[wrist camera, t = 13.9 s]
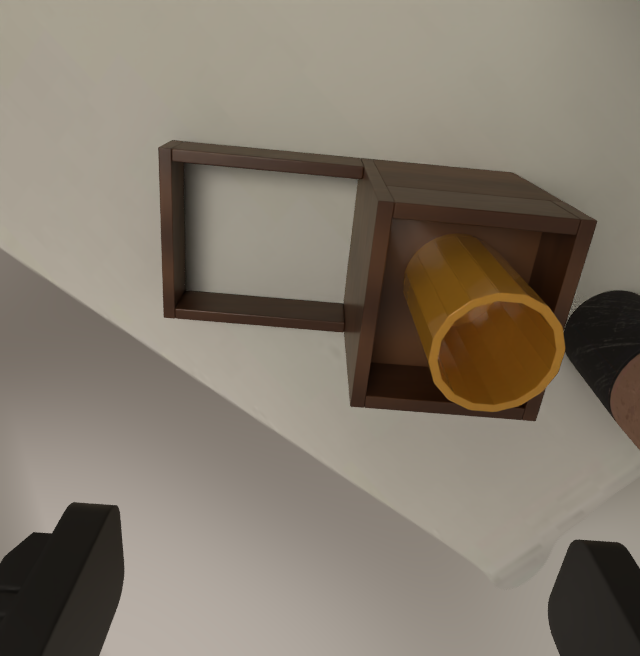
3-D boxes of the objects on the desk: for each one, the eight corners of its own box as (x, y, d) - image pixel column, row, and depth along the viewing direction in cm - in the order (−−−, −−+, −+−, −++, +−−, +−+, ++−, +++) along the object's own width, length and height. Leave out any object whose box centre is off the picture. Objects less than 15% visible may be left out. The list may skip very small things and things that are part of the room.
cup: (411, 228, 31) (443, 287, 23) (514, 238, 31) (582, 300, 23) (395, 322, 33) (419, 406, 25) (490, 331, 34) (544, 416, 26)
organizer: (171, 140, 38) (104, 175, 26) (513, 172, 38) (598, 220, 27) (175, 298, 43) (119, 388, 31) (477, 324, 43) (535, 421, 32)
